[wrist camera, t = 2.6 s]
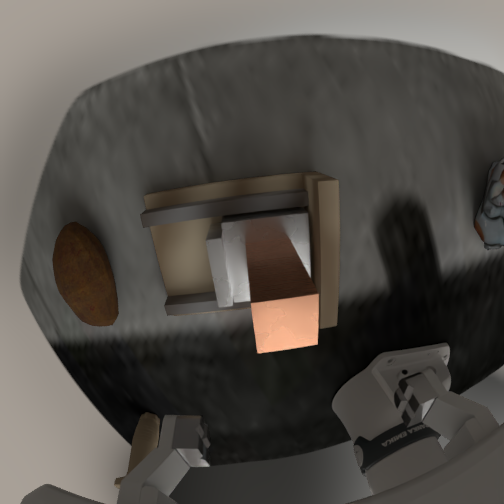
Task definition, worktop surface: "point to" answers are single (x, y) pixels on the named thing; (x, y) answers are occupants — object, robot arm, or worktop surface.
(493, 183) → the lucky cat figurine
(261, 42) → the worktop surface
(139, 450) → the handle
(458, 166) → the worktop surface
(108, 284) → the potato
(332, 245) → the frame
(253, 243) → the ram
